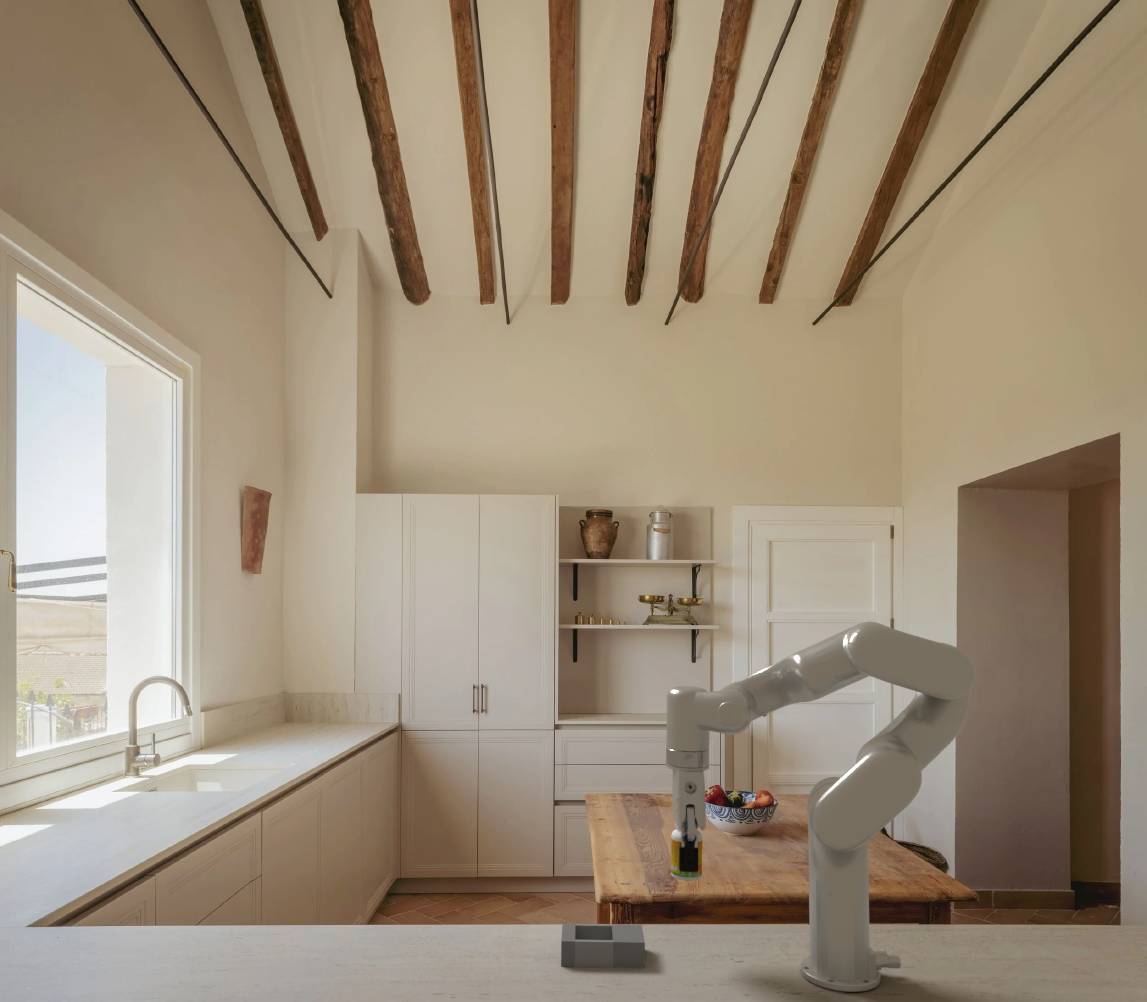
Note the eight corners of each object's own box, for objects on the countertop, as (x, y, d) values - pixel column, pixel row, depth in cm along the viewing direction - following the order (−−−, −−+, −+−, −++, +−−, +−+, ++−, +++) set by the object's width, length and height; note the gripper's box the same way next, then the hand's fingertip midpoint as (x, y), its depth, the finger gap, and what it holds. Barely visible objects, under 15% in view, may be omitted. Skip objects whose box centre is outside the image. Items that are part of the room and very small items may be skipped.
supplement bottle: (677, 882, 151) (678, 823, 152) (666, 872, 156) (666, 815, 157) (707, 880, 152) (707, 821, 153) (694, 870, 157) (695, 814, 158)
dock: (641, 948, 157) (641, 924, 157) (644, 967, 149) (644, 942, 149) (562, 947, 157) (562, 923, 157) (561, 966, 149) (561, 941, 149)
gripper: (715, 769, 147) (715, 882, 146) (702, 750, 164) (701, 851, 163) (670, 767, 148) (669, 881, 146) (662, 749, 165) (660, 850, 163)
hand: (686, 864), depth 154 cm, fingers closed on supplement bottle, 5 cm apart
